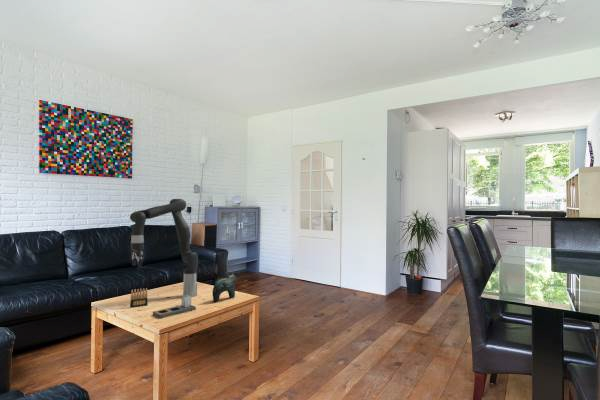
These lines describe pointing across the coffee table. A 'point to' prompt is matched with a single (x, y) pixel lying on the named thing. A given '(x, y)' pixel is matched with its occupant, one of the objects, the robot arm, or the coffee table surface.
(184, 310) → the grey peg board
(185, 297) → the grey metal block
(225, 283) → the dark green animal figure
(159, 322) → the coffee table surface
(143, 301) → the ammunition clip
